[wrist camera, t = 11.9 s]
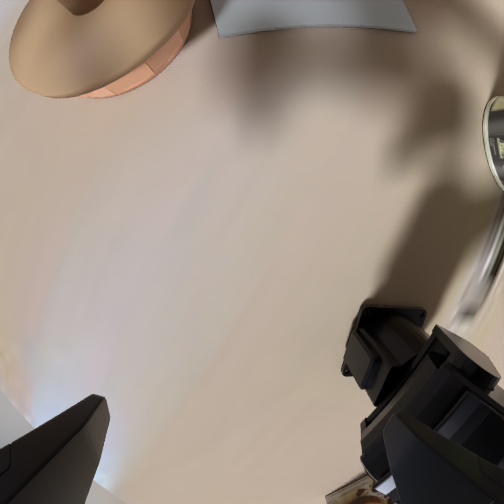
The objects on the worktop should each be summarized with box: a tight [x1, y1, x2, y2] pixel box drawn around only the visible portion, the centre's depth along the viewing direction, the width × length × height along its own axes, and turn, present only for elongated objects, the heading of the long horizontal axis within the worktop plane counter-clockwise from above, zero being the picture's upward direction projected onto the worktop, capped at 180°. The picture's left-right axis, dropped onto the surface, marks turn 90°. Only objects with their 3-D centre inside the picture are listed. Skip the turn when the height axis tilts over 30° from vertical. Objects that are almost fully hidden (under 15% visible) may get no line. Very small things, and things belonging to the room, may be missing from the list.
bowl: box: [79, 9, 193, 98], centre depth 13 cm, size 11×11×4 cm
